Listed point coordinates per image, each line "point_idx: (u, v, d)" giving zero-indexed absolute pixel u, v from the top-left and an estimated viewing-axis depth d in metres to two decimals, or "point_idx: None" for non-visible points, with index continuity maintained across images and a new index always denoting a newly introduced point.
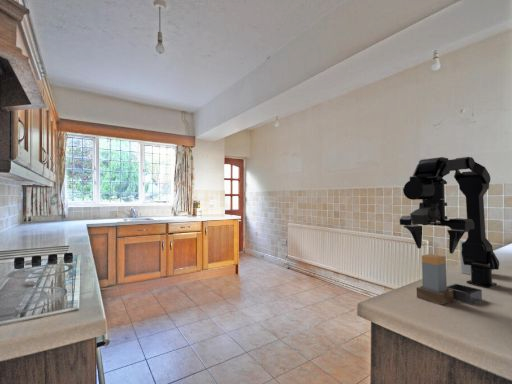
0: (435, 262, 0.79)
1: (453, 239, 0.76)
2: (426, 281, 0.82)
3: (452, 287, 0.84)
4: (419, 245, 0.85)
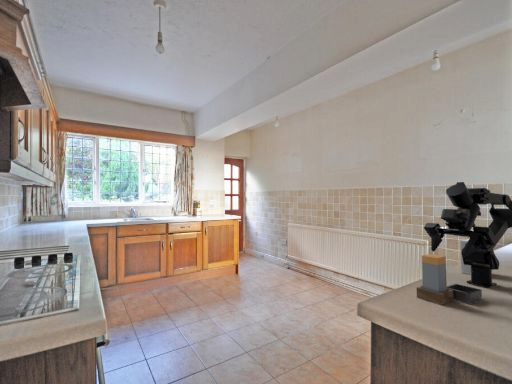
0: (435, 262, 0.79)
1: (472, 242, 0.81)
2: (426, 281, 0.82)
3: (452, 287, 0.84)
4: (433, 248, 0.89)
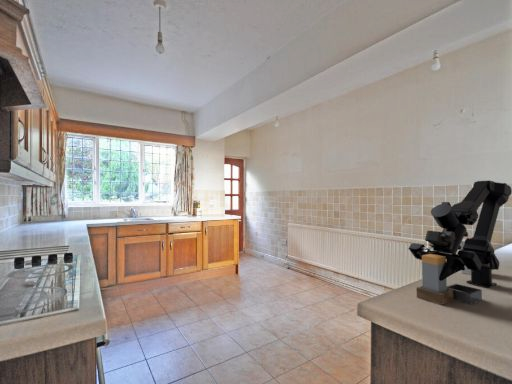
0: (435, 262, 0.79)
1: (448, 266, 0.79)
2: (426, 281, 0.82)
3: (452, 287, 0.84)
4: None
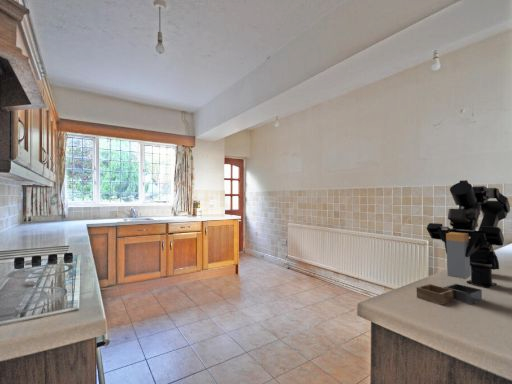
0: (461, 239, 0.79)
1: (473, 242, 0.79)
2: (451, 259, 0.81)
3: (452, 287, 0.84)
4: None
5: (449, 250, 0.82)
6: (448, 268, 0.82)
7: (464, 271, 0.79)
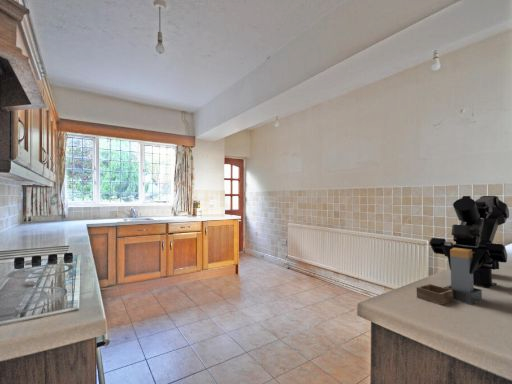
0: (466, 256, 0.79)
1: (477, 259, 0.80)
2: (455, 275, 0.81)
3: None
4: None
5: (453, 266, 0.82)
6: (452, 284, 0.82)
7: (468, 288, 0.79)
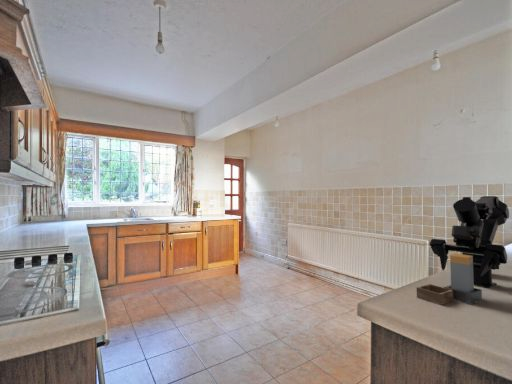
0: (466, 262, 0.79)
1: (486, 261, 0.78)
2: (455, 281, 0.81)
3: None
4: (443, 266, 0.85)
5: (453, 272, 0.82)
6: None
7: None
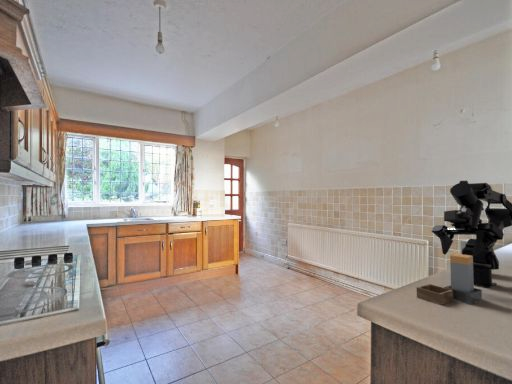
0: (466, 262, 0.79)
1: (479, 240, 0.81)
2: (455, 281, 0.81)
3: None
4: (445, 251, 0.90)
5: (453, 272, 0.82)
6: None
7: None
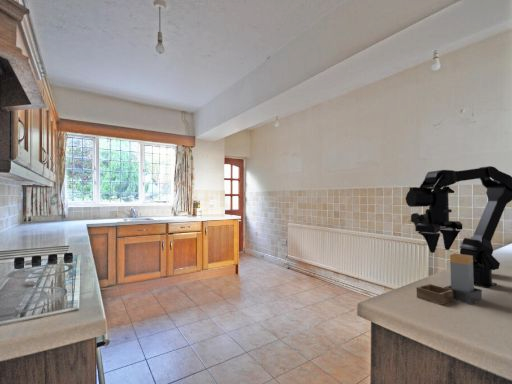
0: (466, 262, 0.79)
1: None
2: (455, 281, 0.81)
3: None
4: (446, 247, 0.96)
5: (453, 272, 0.82)
6: None
7: None
